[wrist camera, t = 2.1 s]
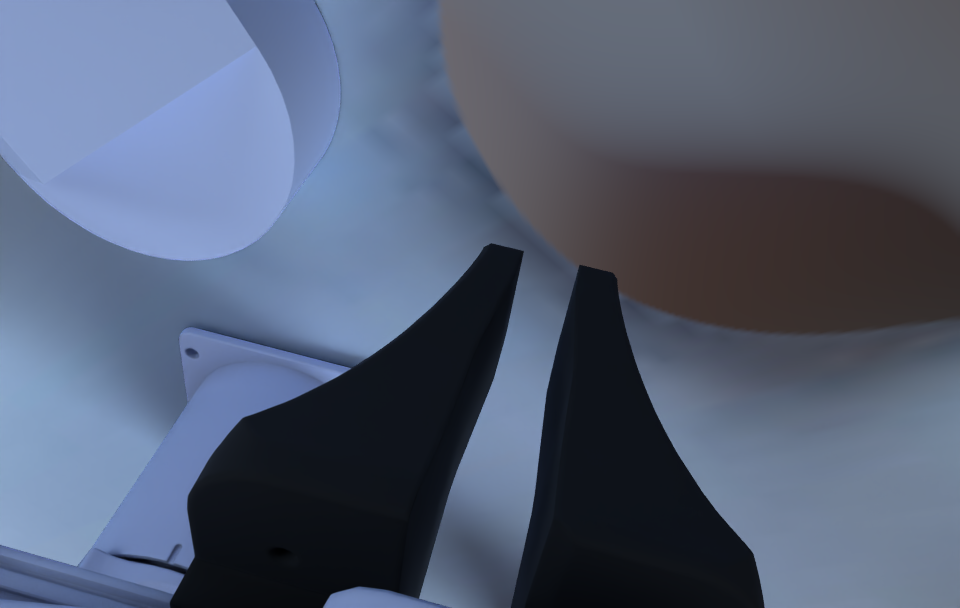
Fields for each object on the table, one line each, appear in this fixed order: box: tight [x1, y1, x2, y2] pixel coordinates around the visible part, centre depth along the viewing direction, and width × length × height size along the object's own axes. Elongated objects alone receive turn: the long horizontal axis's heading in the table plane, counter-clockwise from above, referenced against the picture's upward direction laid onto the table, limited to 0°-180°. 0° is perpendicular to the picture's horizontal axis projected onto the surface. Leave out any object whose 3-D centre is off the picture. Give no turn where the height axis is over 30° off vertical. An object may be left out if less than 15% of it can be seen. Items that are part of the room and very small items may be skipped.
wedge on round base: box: [0, 0, 341, 261], centre depth 20 cm, size 9×7×13 cm
